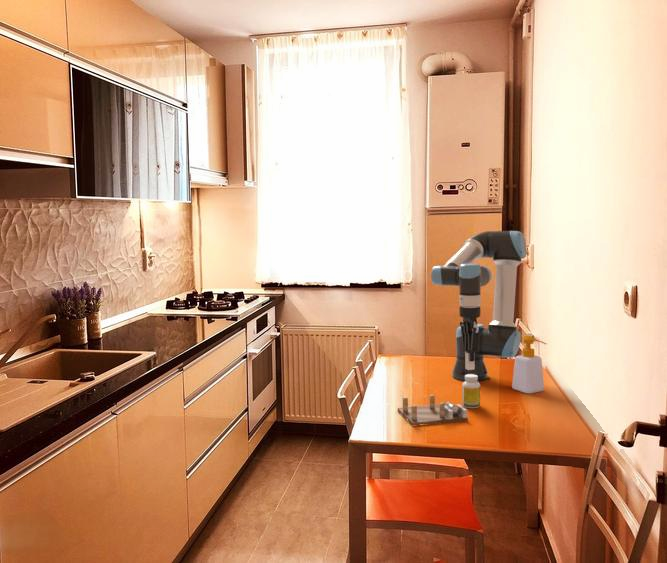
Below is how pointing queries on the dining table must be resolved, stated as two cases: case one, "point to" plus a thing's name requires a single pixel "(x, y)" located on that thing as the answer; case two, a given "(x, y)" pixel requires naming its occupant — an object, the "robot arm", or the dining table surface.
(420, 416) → the board
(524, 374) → the soap bottle
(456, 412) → the pin
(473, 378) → the pill bottle
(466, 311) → the robot arm
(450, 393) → the dining table surface
